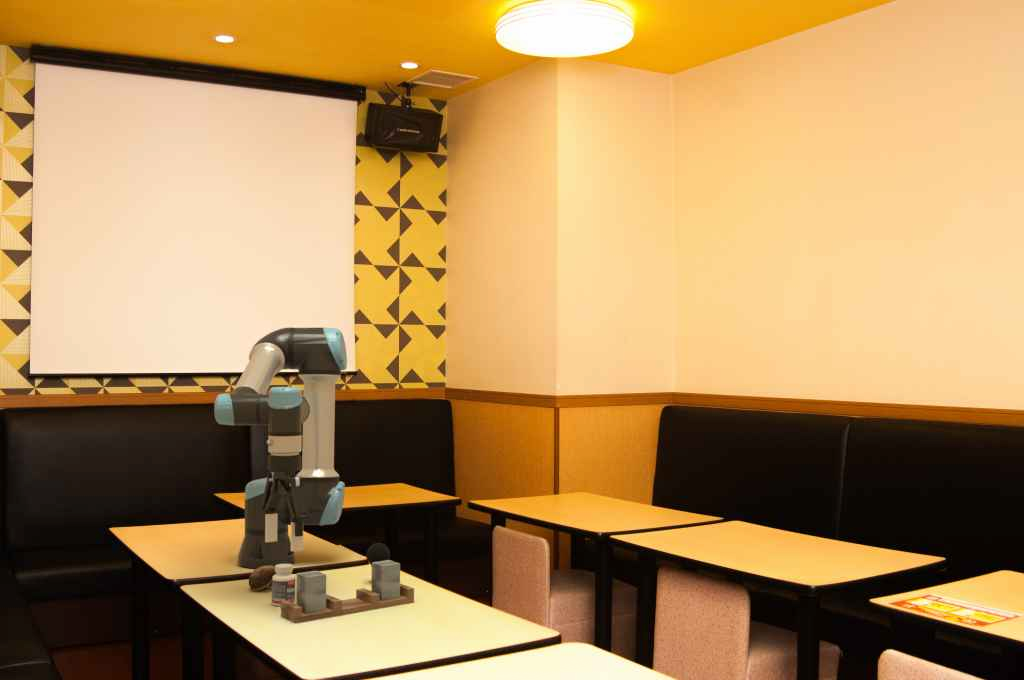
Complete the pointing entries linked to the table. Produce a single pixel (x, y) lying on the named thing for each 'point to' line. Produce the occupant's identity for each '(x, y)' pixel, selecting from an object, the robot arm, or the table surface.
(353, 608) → the rail
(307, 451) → the robot arm
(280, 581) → the pill bottle
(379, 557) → the black round piece
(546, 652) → the table surface
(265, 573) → the mushroom
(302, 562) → the table surface
